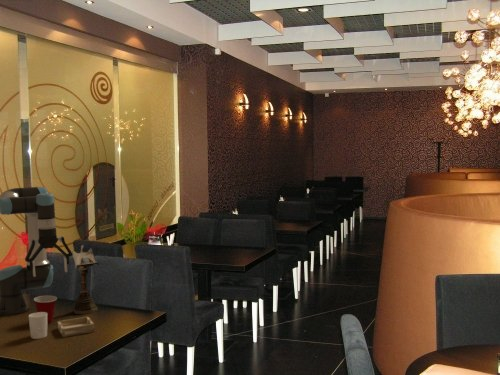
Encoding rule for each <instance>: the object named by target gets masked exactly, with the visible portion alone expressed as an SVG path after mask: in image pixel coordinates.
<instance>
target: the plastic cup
mask: <svg viewBox="0 0 500 375" xmlns="http://www.w3.org/2000/svg"><path fill="white" fill-rule="evenodd" d="M57 300H58V297H57V296H55V295H39V296H36V297H34V298H33V301H34V304H35V308H36V313H37V312H46V313H47V324H51V323H52V322H53V321H54V314H55V306H56V302H57Z"/></svg>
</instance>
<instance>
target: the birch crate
mask: <svg viewBox="0 0 500 375" xmlns="http://www.w3.org/2000/svg"><path fill="white" fill-rule="evenodd" d="M56 322H57V330H58V331H59V333H60V336H61V337H62V338H66V337H72V336H78V335H83V334H84V335H85V334H90V333H94V332H95V323H94V321H93V320H92V319H91V318H90V317H89V316H83V317H75V318H69V319H63V320H58V321H56Z"/></svg>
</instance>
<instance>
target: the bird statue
mask: <svg viewBox="0 0 500 375" xmlns="http://www.w3.org/2000/svg"><path fill="white" fill-rule="evenodd" d="M93 251H94V250H93V249H92V247H90V249H89V250H88V251H85V247H84V244H82V245H81V246H80V251H79V252H76V251H71V252H72V254H73V255H72V256H71V257H72V258H73V261H74V268H75V270H77V268H78V267H79V268H78V271H79V275H81V290H80V291H79V295H78V298H76V299H77V300H76V301H75V302H76V303H75V306H74V308H73V313H74V314H76V315H88V313H89V314H93V313H95V311H96V312H98V311H97V310H98V306H97V305H96V304H95V301H94V298H93V297H92V296H91V294H90V290H89V289H88V288H87V287H88V285H87V284H88V281H87V280H88V278H87V275H88V274H89V270H90V268H89V267H93V266H94V265H97V266H100V263H99V261H97V259H96V257H95V253H94V252H93Z"/></svg>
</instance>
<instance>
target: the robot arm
mask: <svg viewBox="0 0 500 375" xmlns="http://www.w3.org/2000/svg"><path fill="white" fill-rule="evenodd" d="M54 196H55V195H54V194H53V193H50V192H48V189H47V188H46V187H44V186H32V187H31V186H30V187H15V188H14V187H13V188H10V189H7V190H5V191H3V192H2V193H1V194H0V215H7V216H9V215H17V214H18V215H19V214H21V215H22V214H24V215H25V216H27V236H28V237H27V238H28V251H27V253H26V256H25V258H24V260H25V262H26V267H23V266H22V265H21V264H19V265H11V266H7V267H4V268H2V269H0V316H11V315H17V314H21V313H25V312H27V311H28V310H29V305H28V301H27V299H26V297H25V296H24V291H27V290H32V289H33V290H34V289H44V288H48V287H50V286H51V285H52V283H53V279H54V266H53V265H52V264H51V263H50V260H48V259H47V250H48V249H53V248H55V249H57V250H58V251H59V253H61V254H62V255H63V266H64V273H68V265H70V257H73V256H72V255H73V254H72V252H73V251H71V249H70V248H69V246H68V244H67V243H66V241H65V237H64V236H60V237H59V236H57V228H56V225H57V224H56V211H55V210H56V209H55V197H54ZM58 241H59V242H60V243H62V245H63V246H64V249H65V250H66V251H67V252H65V251H64V250H63V249H62V247H60V246H59V245H58V244H57V243H58Z"/></svg>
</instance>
